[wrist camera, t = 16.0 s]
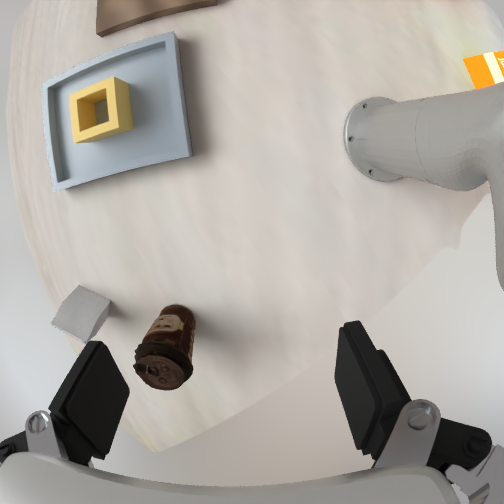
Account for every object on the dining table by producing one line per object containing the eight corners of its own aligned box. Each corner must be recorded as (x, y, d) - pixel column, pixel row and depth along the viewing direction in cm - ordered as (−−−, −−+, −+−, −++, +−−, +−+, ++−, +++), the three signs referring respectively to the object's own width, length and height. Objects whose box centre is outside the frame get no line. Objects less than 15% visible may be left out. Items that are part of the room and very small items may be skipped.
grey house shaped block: (79, 284, 42) (50, 315, 32) (110, 300, 43) (86, 334, 34) (77, 300, 43) (51, 331, 34) (108, 315, 44) (85, 350, 35)
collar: (128, 83, 30) (113, 76, 25) (133, 129, 32) (118, 127, 28) (87, 98, 30) (69, 94, 25) (92, 142, 32) (73, 143, 28)
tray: (178, 38, 29) (173, 31, 26) (193, 155, 35) (189, 156, 32) (52, 86, 29) (41, 84, 26) (64, 189, 36) (53, 192, 33)
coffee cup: (142, 311, 44) (117, 363, 32) (177, 288, 42) (157, 340, 30) (176, 345, 47) (161, 400, 34) (211, 326, 45) (204, 383, 33)
